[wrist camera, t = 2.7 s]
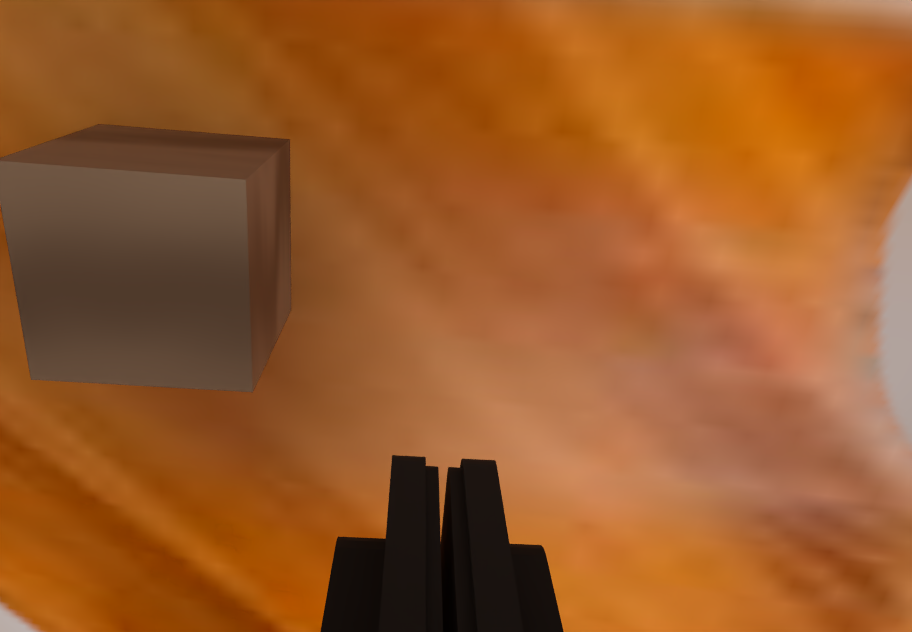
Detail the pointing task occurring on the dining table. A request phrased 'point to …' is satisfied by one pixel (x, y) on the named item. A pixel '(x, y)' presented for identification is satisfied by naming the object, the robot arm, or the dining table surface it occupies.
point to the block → (150, 255)
